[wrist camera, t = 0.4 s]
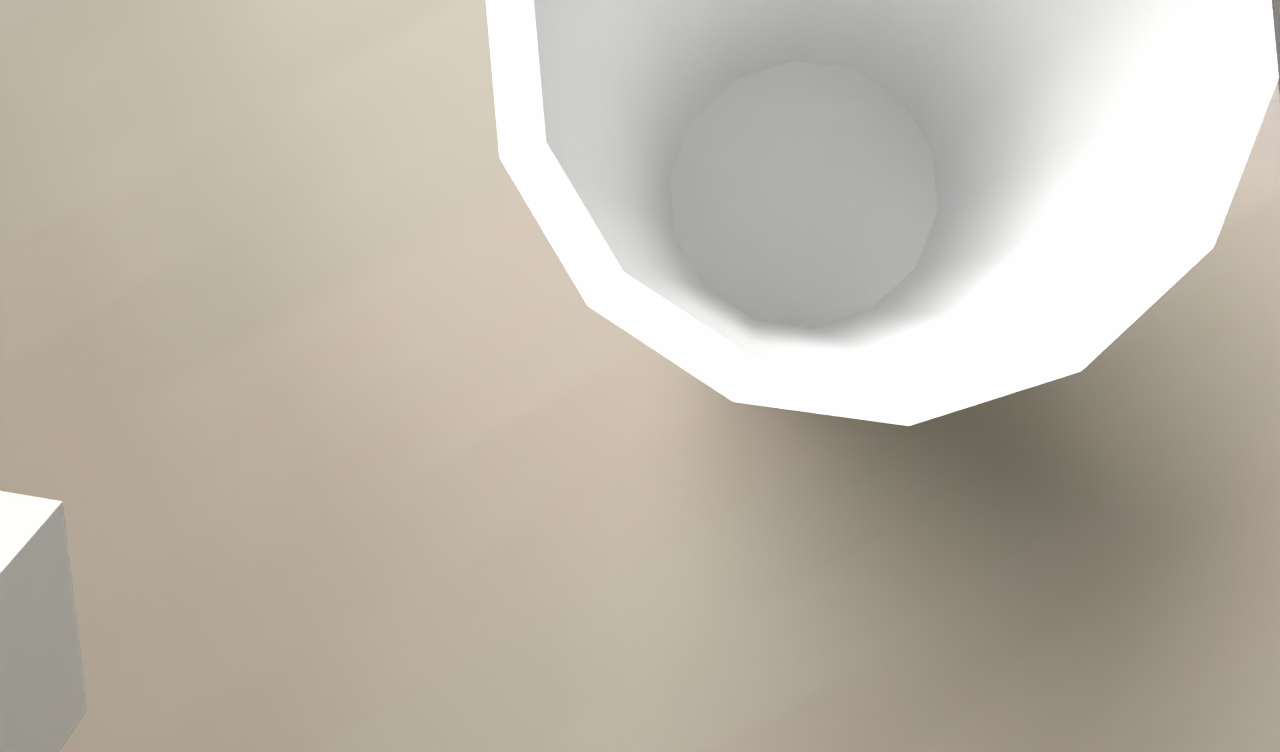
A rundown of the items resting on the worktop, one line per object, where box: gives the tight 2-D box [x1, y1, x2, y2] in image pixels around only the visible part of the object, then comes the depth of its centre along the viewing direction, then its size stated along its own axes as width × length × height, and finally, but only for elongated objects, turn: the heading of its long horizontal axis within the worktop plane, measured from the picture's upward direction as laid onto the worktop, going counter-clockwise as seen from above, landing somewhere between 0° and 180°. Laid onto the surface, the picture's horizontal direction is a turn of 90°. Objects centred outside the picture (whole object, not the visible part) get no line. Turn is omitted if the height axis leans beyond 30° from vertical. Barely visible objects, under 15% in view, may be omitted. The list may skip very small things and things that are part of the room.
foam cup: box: [486, 0, 1279, 426], centre depth 21 cm, size 10×9×13 cm
